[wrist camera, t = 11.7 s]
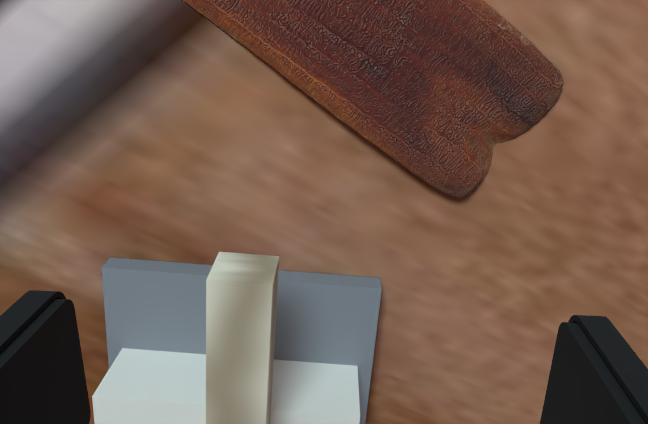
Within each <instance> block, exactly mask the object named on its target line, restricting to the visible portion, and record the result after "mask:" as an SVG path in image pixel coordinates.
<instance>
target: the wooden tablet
mask: <svg viewBox="0 0 648 424" xmlns="http://www.w3.org/2000/svg"><path fill="white" fill-rule="evenodd" d="M183 1H184V2H186V3H187V4H188V5H190V6H191V7H193V8H194V9H195V10H197V11H198V12H199V13H201V14H202V15H204V16H205V17H207V18H208V19H209V20H211V21H212V22H213V23H214V24H216V25H217V26H218V27H220V28H221V29H223V30H224V31H225V32H226V33H228V34H229V35H230V36H232V37H233V38H234V39H236V40H237V41H239V42H240V43H241V44H242V45H244V46H245V47H247V48H248V49H250V50H251V51H252V52H253V53H254V54H256V55H257V56H259V57H260V58H261V59H262V60H264V61H265V62H267V63H268V64H269V65H271V66H272V67H273V68H274V69H276V70H277V71H278V72H279V73H280V74H282V75H283V76H284V77H286V78H287V79H288V80H289V81H291V82H292V83H293V84H294V85H296V86H297V87H298V88H300V89H301V90H302V91H304V92H305V93H306V94H307V95H309V96H310V97H312V98H313V99H314V100H315V101H317V102H318V103H319V104H321V105H322V106H323V107H325V108H326V109H327V110H328V111H330V112H331V113H332V114H333V115H335V116H336V117H337V118H339V119H340V120H341V121H343V122H344V123H345V124H347V125H348V126H350V127H351V128H353V129H354V130H355V131H356V132H358V133H359V134H360V135H361V136H363V137H364V138H366V139H367V140H369V141H370V142H372V143H373V144H374V145H376V146H377V147H379V148H380V149H381V150H382V151H384V152H385V153H387V154H388V155H389V156H390V157H392V158H393V159H395V160H396V161H397V162H399V163H400V164H402V165H403V166H404V167H406V168H407V169H408V170H410V171H411V172H412V173H413V174H415V175H417V176H418V177H420V178H421V179H422V180H424V181H425V182H427V183H428V184H430V185H431V186H433V187H435V188H436V189H438V190H440V191H442V192H444V193H445V194H447V195H450V196H453V197H457V198H460V197H466V196H468V195H470V194H471V193H472V192H473V191H474V190H475V189H476V187H477V186H478V185H479V183H480V181H481V180H482V179H483V178H484V176H485V174H486V173H487V172H488V169H489V166H490V164H491V160H492V153H493V146H494V145H495V144H497V143H502V142H504V141H508V140H511V139H513V138H515V137H517V136H518V135H520V134H522V133H523V132H525V131H526V130H528V129H529V128H530V127H531V126H533V125H534V124H535V123H536V122H537V121H539V120H540V119H541V118H542V117H543V116H544V115H545V114H546V112H547V111H548V110H550V108H551V107H552V106H553V105H554V104H555V103H556V102H557V100H558V98H559V96H560V94H561V92H562V90H563V88H562V86H563V83H564V81H563V78H562V75H561V74H560V71H559V70H558V69H557V68H556V67H555V66H554V65H553V64H552V63H551V62H550V61H549V60H548V59H547V58H546V57H545V56H544V55H543V54H542V53H541V52H540V51H539V50H538V49H537V48H536V47H535V46H534V44H532V43H531V42H530V41H529V40H528V39H527V38H526V37H525V36H524V35H523V34H522V33H521V32H519V31H518V30H517V29H516V28H515V27H514V26H512V25H511V24H510V23H509V22H508V21H507V20H506V19H504V18H503V17H502V16H500V15H499V13H498V12H497V11H496V10H494V9H493V8H492V7H490V6H489V5H488V4H486V3H485V2H484V1H483V0H183Z"/></svg>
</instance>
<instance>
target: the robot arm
mask: <svg viewBox="0 0 648 424" xmlns="http://www.w3.org/2000/svg"><path fill="white" fill-rule="evenodd" d="M89 421H90V405H89V398H88V392H87V386H86V379H85V373H84V366H83V360H82V353H81V347H80V341H79V334H78V328H77V321H76V315H75V308H74V304H73V302H72V301H71V300H69V299H66V297H65V296H64V294H63V293H61V292H56V291H34V290H33V291H28V292H27V293H25V294H24V295H23V296H22V297H21V298H20V299H19V300H18V301H17V302H15V303H14V304H13V305H12V306H11V307H10V308H9V309H8V310H7V311H5V312H4V313H3V314H2V315H1V316H0V424H89ZM540 424H648V369H647V368H646V366H645V365H644V364H643V362H642V361H641V360H640V359H639V357H638V356H637V355H636V354H635V352H634V351H633V350H632V348H631V347H630V346H629V345H628V343H627V342H626V341H625V339H624V338H623V337H622V336H621V334H620V333H619V332H618V331H617V329H616V328H615V327H614V325H613V324H612V323H611V322H610V320H609V319H608V318H607V317H603V316H583V315H573V316H572V317H571V318H570V320H569V322H563V323H561V324H560V326H559V330H558V334H557V339H556V345H555V350H554V355H553V360H552V365H551V370H550V375H549V380H548V385H547V390H546V396H545V401H544V406H543V411H542V416H541V421H540Z"/></svg>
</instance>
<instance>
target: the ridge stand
mask: <svg viewBox="0 0 648 424" xmlns="http://www.w3.org/2000/svg"><path fill="white" fill-rule="evenodd" d="M212 266H213V265H203V264H190V263H177V262H164V261H150V260H137V259H124V258H111V257H110V258H109V260H108V261H107V262H106V263H105V264H104V265H103V266H102V280H103V293H104V307H105V320H106V334H107V348H108V361H109V370H108V372H107V374H106V375H105V377H104V378H103V380H102V382H101V383H100V385H99V387H98V388H97V390H96V391H95V393H94V395H93V396H92V399H93V410H94V422H95V424H206V279H207V277H208V275H209V273H210V271H211V268H212ZM381 291H382V287H381V280H380V278H374V277H361V276H348V275H335V274H322V273H309V272H295V271H282V270H278V288H277V307H276V325H275V344H274V363H273V381H272V400H271V419H270V424H365V421H366V413H367V405H368V397H369V389H370V380H371V372H372V364H373V356H374V348H375V340H376V332H377V324H378V315H379V307H380V299H381Z"/></svg>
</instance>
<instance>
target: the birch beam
mask: <svg viewBox="0 0 648 424" xmlns="http://www.w3.org/2000/svg"><path fill="white" fill-rule="evenodd" d="M278 269H279V256H267V255H254V254H242V253H229V252H219V253H218V256H217V258H216V260H215V262H214V264H213V266H212V268H211V271H210V273H209V275H208V277H207V279H206V424H270V419H271V400H272V381H273V363H274V344H275V325H276V307H277V288H278Z"/></svg>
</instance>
